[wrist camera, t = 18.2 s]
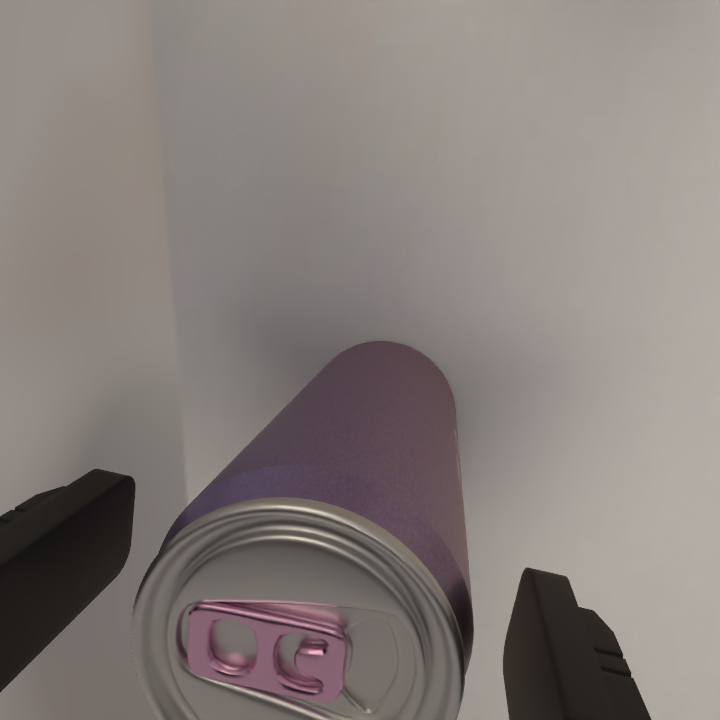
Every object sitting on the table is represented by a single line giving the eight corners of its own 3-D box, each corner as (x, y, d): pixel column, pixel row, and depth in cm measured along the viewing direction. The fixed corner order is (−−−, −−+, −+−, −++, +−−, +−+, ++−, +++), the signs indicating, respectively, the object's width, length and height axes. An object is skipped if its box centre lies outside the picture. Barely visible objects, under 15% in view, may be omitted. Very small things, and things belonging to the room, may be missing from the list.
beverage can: (321, 329, 23) (121, 463, 9) (465, 349, 23) (508, 530, 8) (307, 462, 25) (113, 774, 10) (443, 485, 24) (446, 855, 9)
